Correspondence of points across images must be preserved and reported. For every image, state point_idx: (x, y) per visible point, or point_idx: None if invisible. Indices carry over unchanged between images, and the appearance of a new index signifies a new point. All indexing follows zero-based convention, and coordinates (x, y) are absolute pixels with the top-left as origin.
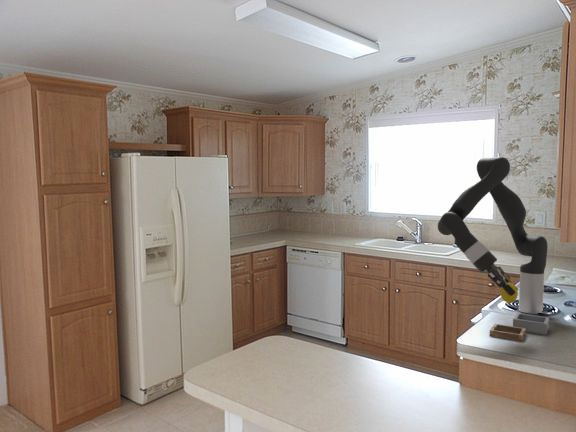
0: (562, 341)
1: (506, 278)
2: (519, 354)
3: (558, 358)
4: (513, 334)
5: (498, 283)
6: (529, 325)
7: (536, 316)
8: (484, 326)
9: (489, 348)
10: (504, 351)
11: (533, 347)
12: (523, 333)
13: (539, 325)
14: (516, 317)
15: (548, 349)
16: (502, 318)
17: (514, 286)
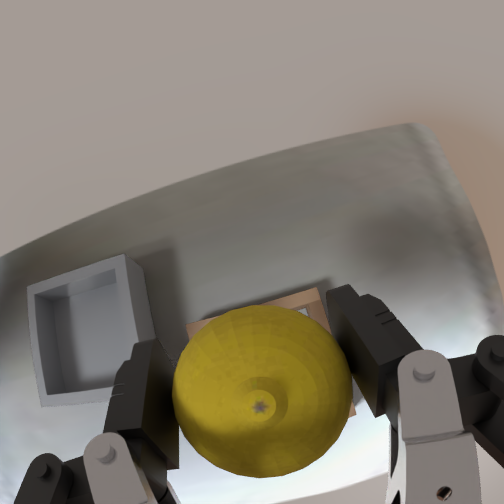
0: (187, 202)
1: (150, 494)
2: (450, 234)
3: (382, 153)
4: (327, 321)
5: (483, 431)
6: (142, 323)
7: (37, 328)
8: (222, 487)
9: (479, 319)
10: (466, 275)
11: (350, 234)
12: (277, 299)
13: (133, 283)
14: (111, 390)
15: (326, 196)
16: None
17: (273, 321)
